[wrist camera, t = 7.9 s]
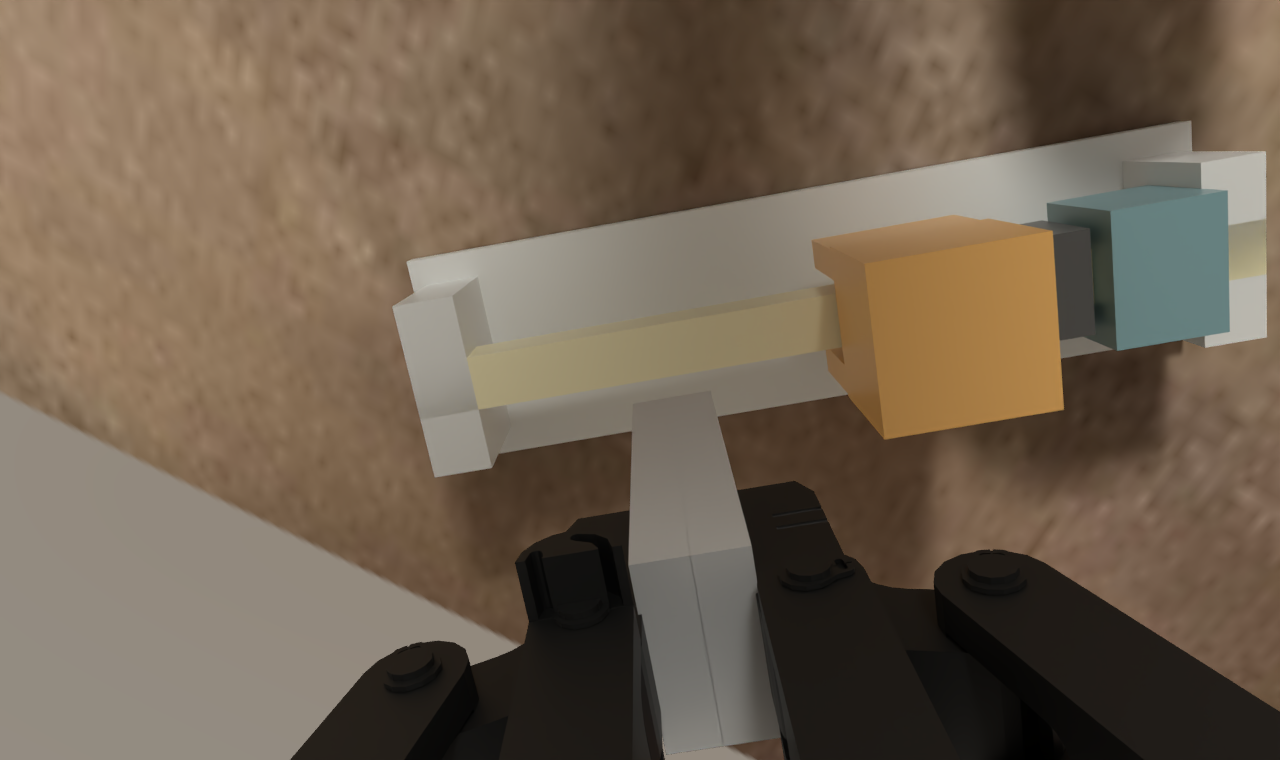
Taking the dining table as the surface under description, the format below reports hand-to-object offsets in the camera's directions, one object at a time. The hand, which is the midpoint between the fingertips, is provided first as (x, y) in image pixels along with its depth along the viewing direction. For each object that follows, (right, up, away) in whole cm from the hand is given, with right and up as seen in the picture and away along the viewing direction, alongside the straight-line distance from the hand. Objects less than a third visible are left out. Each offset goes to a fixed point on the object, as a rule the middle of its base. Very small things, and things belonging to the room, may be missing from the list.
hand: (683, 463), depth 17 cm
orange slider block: (+8, +5, +15) cm, 17 cm away
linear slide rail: (+5, +5, +17) cm, 19 cm away
